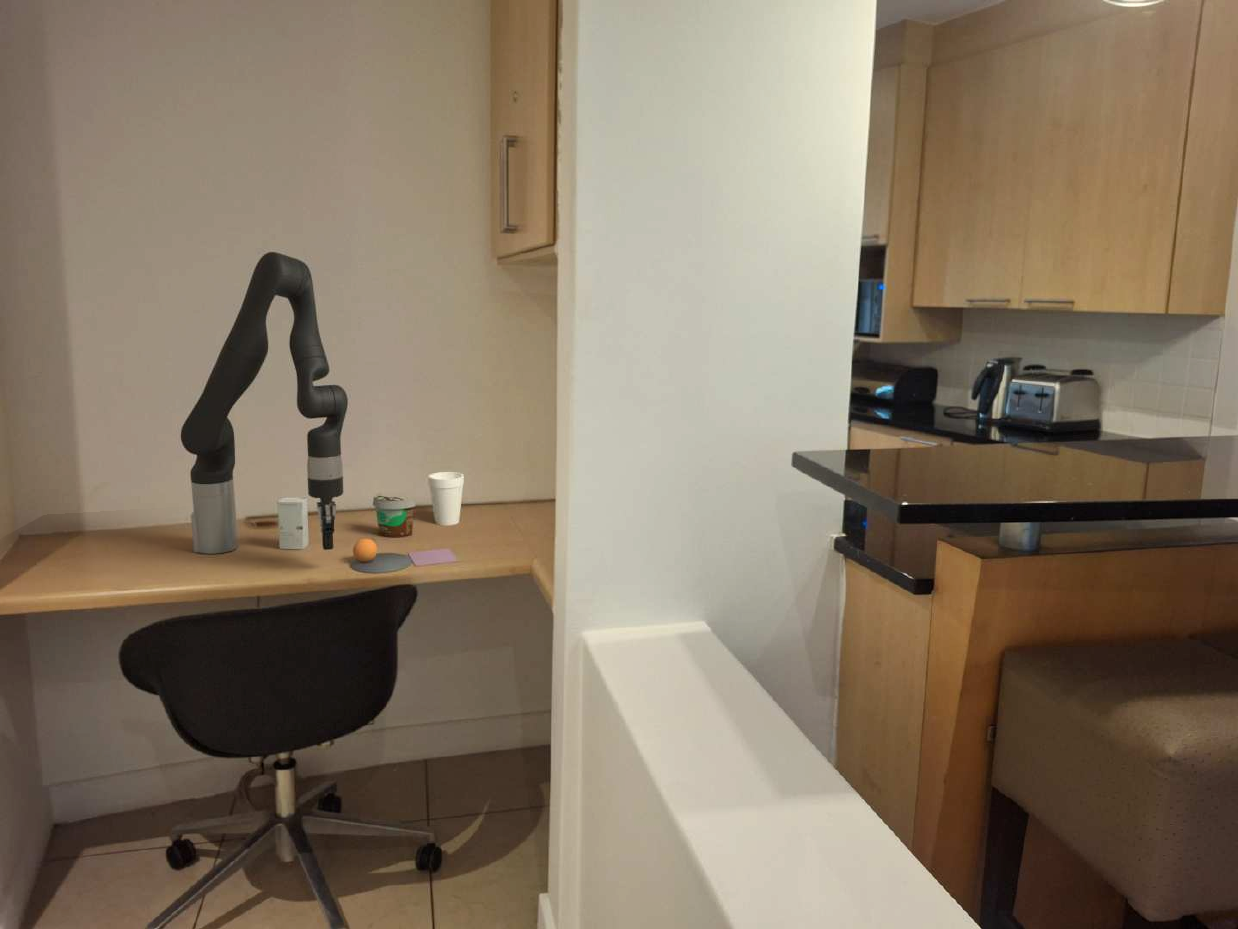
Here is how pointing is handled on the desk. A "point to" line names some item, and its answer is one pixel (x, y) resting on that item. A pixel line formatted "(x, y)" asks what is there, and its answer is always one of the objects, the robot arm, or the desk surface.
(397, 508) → the food container
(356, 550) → the ball
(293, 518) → the white box
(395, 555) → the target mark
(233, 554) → the desk surface
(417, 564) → the far mark
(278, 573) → the desk surface
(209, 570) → the desk surface
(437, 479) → the foam cup
